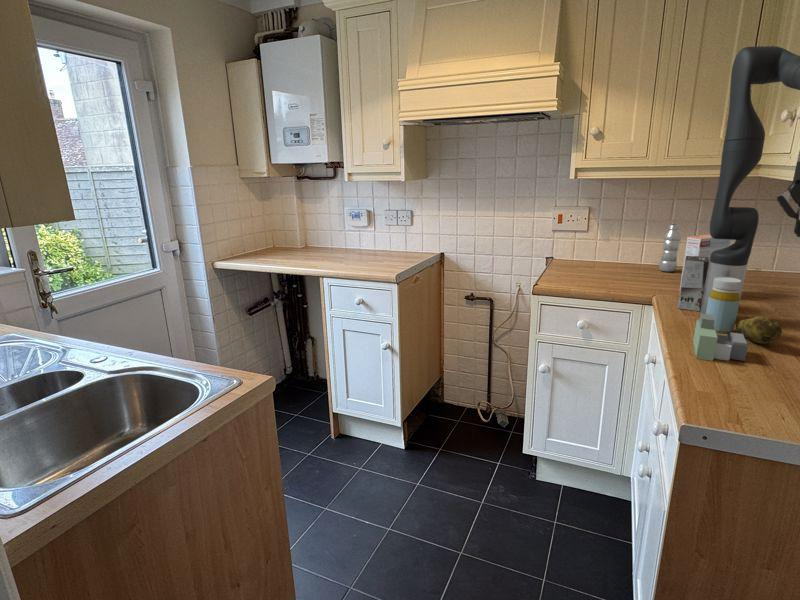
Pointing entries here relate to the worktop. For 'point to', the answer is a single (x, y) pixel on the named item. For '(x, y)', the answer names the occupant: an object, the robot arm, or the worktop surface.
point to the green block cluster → (709, 340)
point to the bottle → (724, 303)
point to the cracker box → (703, 247)
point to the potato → (760, 329)
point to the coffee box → (693, 282)
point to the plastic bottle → (670, 249)
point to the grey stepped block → (735, 345)
